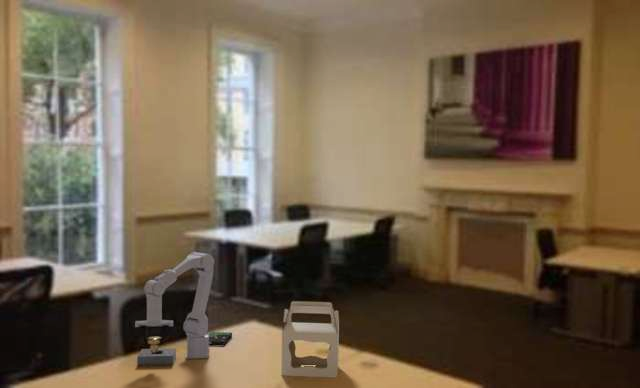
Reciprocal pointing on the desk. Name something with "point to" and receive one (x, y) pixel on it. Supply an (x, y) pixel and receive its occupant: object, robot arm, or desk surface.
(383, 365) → the desk surface
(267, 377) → the desk surface
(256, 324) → the desk surface
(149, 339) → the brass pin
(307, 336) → the gable box
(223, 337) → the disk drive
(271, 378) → the desk surface
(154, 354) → the block
